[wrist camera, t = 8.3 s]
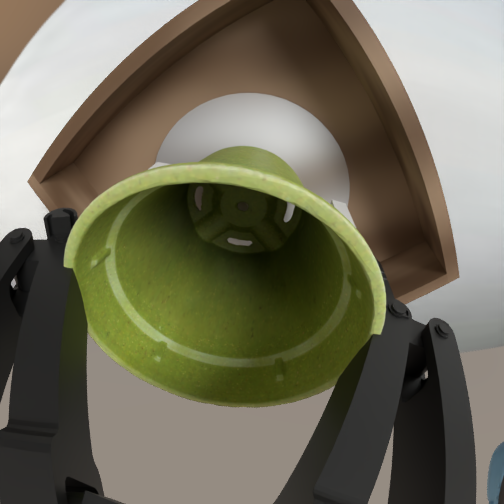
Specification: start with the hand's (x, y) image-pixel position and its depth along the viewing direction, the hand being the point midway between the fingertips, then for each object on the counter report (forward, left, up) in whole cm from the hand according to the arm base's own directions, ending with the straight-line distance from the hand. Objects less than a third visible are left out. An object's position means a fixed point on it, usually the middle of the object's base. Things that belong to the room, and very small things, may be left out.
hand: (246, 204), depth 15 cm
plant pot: (0, 0, 0) cm, 0 cm away
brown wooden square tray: (0, 0, -2) cm, 2 cm away
